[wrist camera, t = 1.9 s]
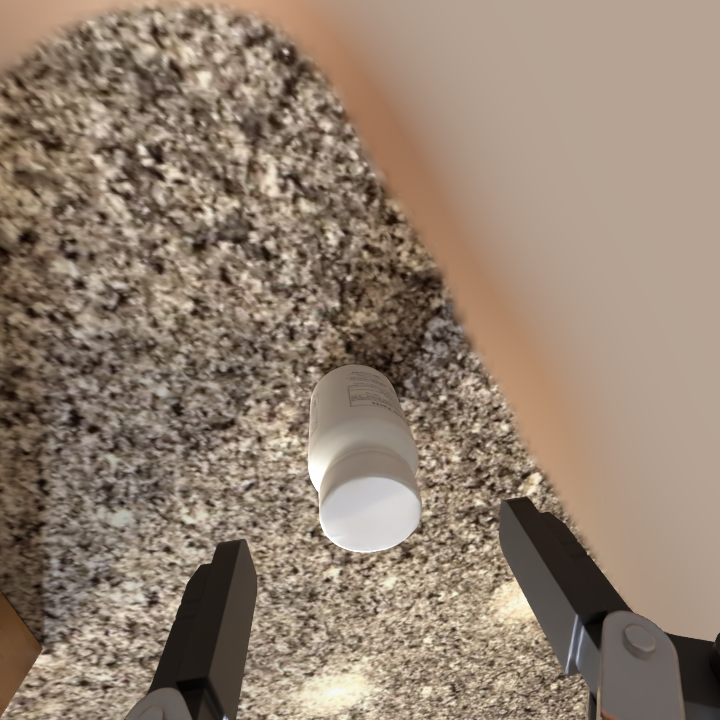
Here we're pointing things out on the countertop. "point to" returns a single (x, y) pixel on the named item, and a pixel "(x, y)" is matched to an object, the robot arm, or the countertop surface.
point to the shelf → (14, 652)
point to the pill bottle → (362, 460)
